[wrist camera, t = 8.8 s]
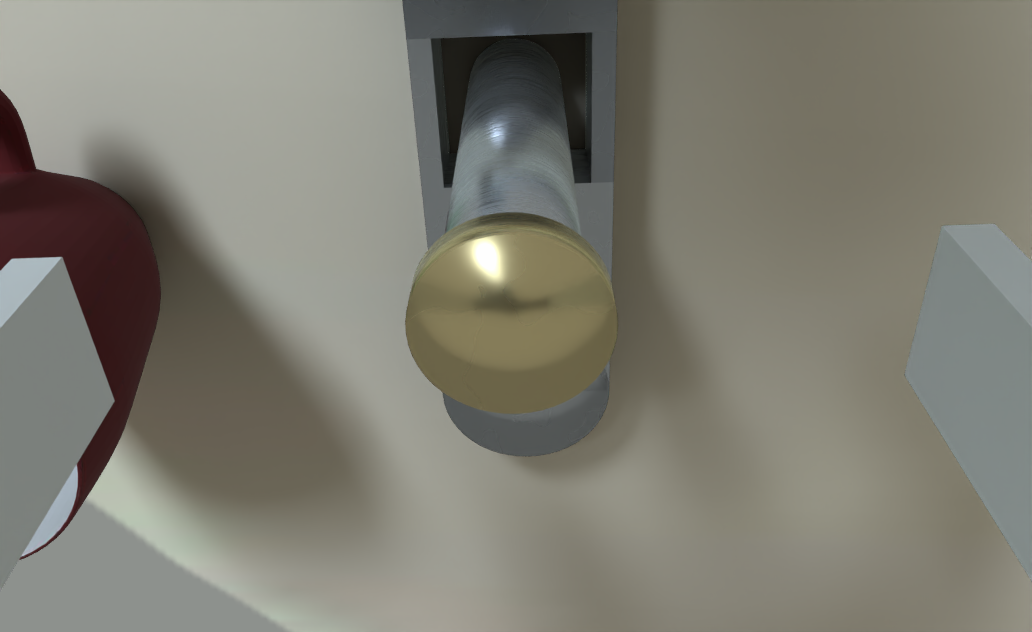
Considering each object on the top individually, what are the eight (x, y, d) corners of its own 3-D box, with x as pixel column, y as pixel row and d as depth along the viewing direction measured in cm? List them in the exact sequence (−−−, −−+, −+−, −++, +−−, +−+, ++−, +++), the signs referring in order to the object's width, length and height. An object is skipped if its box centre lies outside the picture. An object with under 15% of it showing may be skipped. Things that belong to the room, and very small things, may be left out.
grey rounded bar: (372, -446, 19) (354, -473, 17) (616, -459, 19) (627, -487, 17) (454, 411, 31) (449, 458, 29) (601, 407, 31) (607, 454, 29)
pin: (450, 26, 24) (393, 238, 13) (575, 20, 24) (620, 230, 13) (459, 144, 26) (416, 416, 15) (575, 139, 26) (616, 410, 15)
